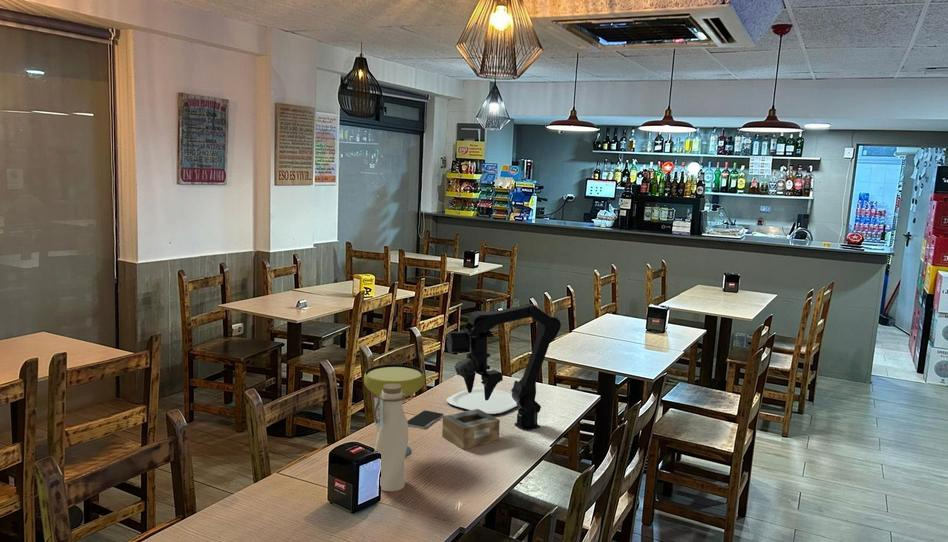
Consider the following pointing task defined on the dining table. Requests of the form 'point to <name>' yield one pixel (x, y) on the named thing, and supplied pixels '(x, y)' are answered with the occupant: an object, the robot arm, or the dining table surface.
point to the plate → (483, 401)
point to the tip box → (470, 428)
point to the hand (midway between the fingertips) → (478, 396)
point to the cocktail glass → (394, 380)
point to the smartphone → (424, 419)
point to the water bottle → (391, 436)
